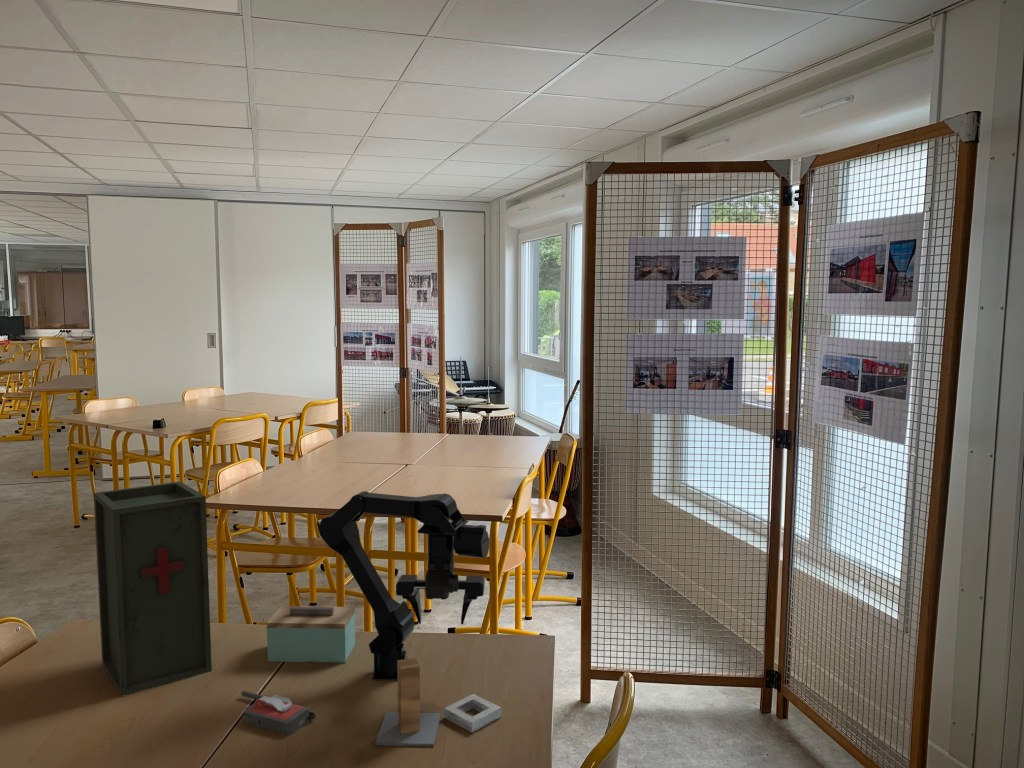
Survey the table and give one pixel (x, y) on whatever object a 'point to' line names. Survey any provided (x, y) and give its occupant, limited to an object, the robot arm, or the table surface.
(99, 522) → the first aid box
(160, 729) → the table surface
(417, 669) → the tall wooden block
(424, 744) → the grey square plate
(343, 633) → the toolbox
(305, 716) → the walkie-talkie
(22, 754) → the table surface
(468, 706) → the white square ring
